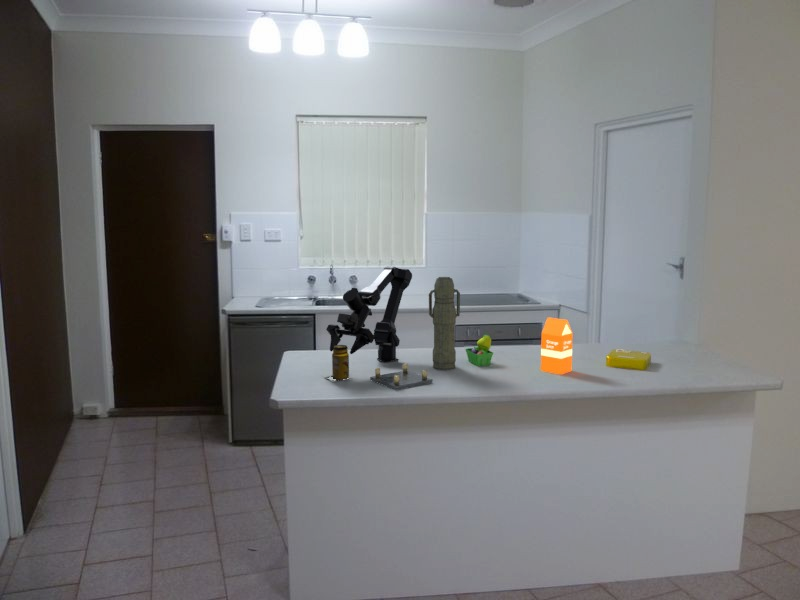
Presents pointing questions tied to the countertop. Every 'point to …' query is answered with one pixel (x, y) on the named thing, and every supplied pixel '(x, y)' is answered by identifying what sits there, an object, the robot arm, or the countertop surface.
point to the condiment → (340, 363)
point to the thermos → (444, 322)
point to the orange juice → (556, 346)
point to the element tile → (628, 359)
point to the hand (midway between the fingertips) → (340, 352)
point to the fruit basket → (480, 352)
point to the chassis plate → (401, 378)
